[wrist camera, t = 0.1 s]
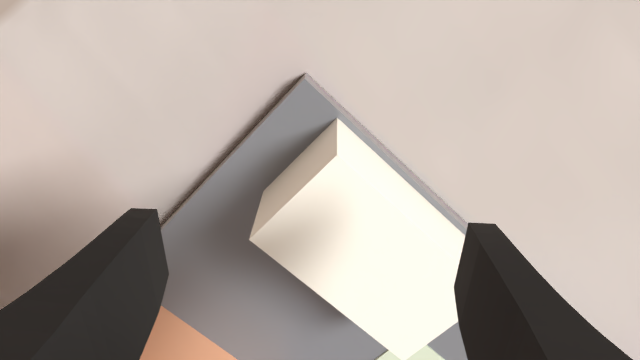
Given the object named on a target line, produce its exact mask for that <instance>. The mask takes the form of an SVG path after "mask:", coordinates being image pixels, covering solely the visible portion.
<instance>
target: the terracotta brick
mask: <svg viewBox="0 0 640 360" xmlns="http://www.w3.org/2000/svg"><path fill="white" fill-rule="evenodd" d="M140 360H238V359H236V358H235V357H233V356H232V355H230V354H229V353H228V352H226V351H225V350H223V349H222V348H221V347H219V346H218V345H216V344H215V343H214V342H212V341H211V340H209V339H208V338H206V337H205V336H204V335H202V334H201V333H199V332H198V331H197V330H195V329H194V328H192V327H191V326H189V325H188V324H187V323H185V322H184V321H182V320H181V319H180V318H178V317H177V316H175V315H174V314H172V313H171V312H170V311H168V310H167V309H165V308H164V307H163V306H161V307H160V310H159V313H158V316H157V318H156V321H155V323H154V326H153V328H152V331H151V333H150V336H149V338H148V340H147V343H146V345H145V348H144V350H143V352H142V355H141V357H140Z"/></svg>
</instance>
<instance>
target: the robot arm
mask: <svg viewBox="0 0 640 360" xmlns="http://www.w3.org/2000/svg"><path fill="white" fill-rule="evenodd" d="M168 276H169V271H168V266H167V260H166V255H165V250H164V244H163V239H162V234H161V228H160V223H159V218H158V212H157V209H135V208H131V209H130V210H128V211H127V212H126V213H125V214H123V215H122V216H121V217H120V218H119V219H117V220H116V221H115V222H114V223H113V224H112V225H110V226H109V227H108V228H107V229H106V230H105V231H103V232H102V233H101V234H100V235H99V236H97V237H96V238H95V239H94V240H93V241H92V242H90V243H89V244H88V245H87V246H85V247H84V248H83V249H82V250H81V251H79V252H78V253H77V254H76V255H75V256H73V257H72V258H71V259H70V260H68V261H67V262H66V263H65V264H63V265H62V266H61V267H60V268H58V269H57V270H56V271H54V272H53V273H52V274H50V275H49V276H48V277H46V278H45V279H44V280H42V281H41V282H40V283H38V284H37V285H36V286H34V287H33V288H32V289H30V290H29V291H28V292H26V293H25V294H23V295H22V296H21V297H19V298H18V299H16V300H15V301H13V302H12V303H10V304H9V305H7V306H6V307H4V308H3V309H1V310H0V360H140V357H141V355H142V352H143V350H144V348H145V345H146V343H147V340H148V338H149V336H150V333H151V331H152V328H153V326H154V323H155V321H156V318H157V316H158V313H159V310H160V307H161V303H162V300H163V296H164V292H165V288H166V284H167V280H168ZM454 294H455V302H456V309H457V316H458V323H459V329H460V332H461V336H462V340H463V344H464V348H465V351H466V355H467V359H468V360H633V359H631V358H630V357H629V356H628V355H626V354H625V353H624V352H623V351H621V350H620V349H619V348H618V347H617V346H615V345H614V344H613V343H612V342H611V341H609V340H608V339H607V338H606V337H604V336H603V335H602V334H601V333H600V332H599V331H598V330H596V329H595V328H594V327H593V326H592V325H591V324H590V323H589V322H587V321H586V320H585V319H584V318H583V317H582V316H581V315H580V314H579V313H578V312H577V311H576V310H575V309H574V308H573V307H572V306H571V305H569V304H568V303H567V302H566V301H565V300H564V299H563V298H562V297H561V296H560V295H559V294H558V293H557V292H556V291H555V290H554V289H553V287H552V286H551V285H550V284H549V283H548V282H547V281H546V280H545V279H544V278H543V277H542V276H541V275H540V274H539V273H538V272H537V271H536V269H535V268H534V267H533V266H532V265H531V264H530V263H529V262H528V261H527V259H526V258H525V257H524V256H523V255H522V254H521V253H520V252H519V250H518V249H517V248H516V247H515V246H514V245H513V244H512V242H511V241H510V240H509V239H508V238H507V237H506V236H505V234H504V233H503V232H502V231H501V230H500V229H499V228H498V227H497V225H496V224H485V223H468V227H467V231H466V235H465V240H464V244H463V248H462V253H461V257H460V261H459V266H458V270H457V275H456V279H455V283H454Z"/></svg>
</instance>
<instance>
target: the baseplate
mask: <svg viewBox="0 0 640 360" xmlns="http://www.w3.org/2000/svg"><path fill="white" fill-rule="evenodd" d="M336 118H338V119H339V120H341V121H342V122H343V123H344V124H345V125H346V126H347V127H348V128H349V129H350V130H351V131H352V132H354V133H355V134H356V135H357V136H358V137H359V138H360V139H361V140H362V141H363V142H364V143H365V144H366V145H368V146H369V147H370V148H371V149H372V150H373V151H374V152H375V153H376V154H377V155H378V156H379V157H381V158H382V159H383V160H384V161H385V162H386V163H387V164H388V165H389V166H390V167H391V168H392V169H394V170H395V171H396V172H397V173H398V174H399V175H400V176H401V177H402V178H403V179H404V180H405V181H407V182H408V183H409V184H410V185H411V186H412V187H413V188H414V189H415V190H416V191H417V192H418V193H420V194H421V195H422V196H423V197H424V198H425V199H426V200H427V201H428V202H429V203H430V204H431V205H433V206H434V207H435V208H436V209H437V210H438V211H439V212H440V213H441V214H442V215H443V216H444V217H445V218H447V219H448V220H449V221H450V222H451V223H452V224H453V225H454V226H455V227H456V228H457V229H458V230H460V231H461V232H462V233H463V234H464V235H466V231H467V227H468V224H467V223H466V222H465V221H464V220H463V219H462V218H461V217H460V216H459V215H458V214H457V213H456V212H455V211H453V210H452V209H451V208H450V207H449V206H448V205H447V204H446V203H445V202H444V201H443V200H442V199H441V198H440V197H438V196H437V195H436V194H435V193H434V192H433V191H432V190H431V189H430V188H429V187H428V186H427V185H426V184H425V183H423V182H422V181H421V180H420V179H419V178H418V177H417V176H416V175H415V174H414V173H413V172H412V171H411V170H410V169H409V168H407V167H406V166H405V165H404V164H403V163H402V162H401V161H400V160H399V159H398V158H397V157H396V156H395V155H394V154H392V153H391V152H390V151H389V150H388V149H387V148H386V147H385V146H384V145H383V144H382V143H381V142H380V141H379V140H378V139H376V138H375V137H374V136H373V135H372V134H371V133H370V132H369V131H368V130H367V129H366V128H365V127H364V126H363V125H361V124H360V123H359V122H358V121H357V120H356V119H355V118H354V117H353V116H352V115H351V114H350V113H349V112H348V111H346V110H345V109H344V108H343V107H342V106H341V105H340V104H339V103H338V102H337V101H336V100H335V99H334V98H333V97H332V96H330V95H329V94H328V93H327V92H326V91H325V90H324V89H323V88H322V87H321V86H320V85H319V84H318V83H317V82H315V81H314V80H313V79H312V78H311V77H310V76H309V75H308V74H307V73H305V74H304V75H303V76H302V77H301V78H300V79H299V81H298V82H297V83H296V84H295V85H294V86H293V87H292V88H291V89H290V90H289V91H288V92H287V93H286V94H285V95H284V96H283V98H282V99H281V100H280V101H279V102H278V103H277V104H276V105H275V106H274V107H273V108H272V109H271V110H270V111H269V112H268V113H267V115H266V116H265V117H264V118H263V119H262V120H261V121H260V122H259V123H258V124H257V125H256V126H255V127H254V128H253V129H252V130H251V132H250V133H249V134H248V135H247V136H246V137H245V138H244V139H243V140H242V141H241V142H240V143H239V144H238V145H237V146H236V147H235V149H234V150H233V151H232V152H231V153H230V154H229V155H228V156H227V157H226V158H225V159H224V160H223V161H222V162H221V163H220V164H219V166H218V167H217V168H216V169H215V170H214V171H213V172H212V173H211V174H210V175H209V176H208V177H207V178H206V179H205V180H204V181H203V183H202V184H201V185H200V186H199V187H198V188H197V189H196V190H195V191H194V192H193V193H192V194H191V195H190V196H189V197H188V198H187V200H186V201H185V202H184V203H183V204H182V205H181V206H180V207H179V208H178V209H177V210H176V211H175V212H174V213H173V214H172V215H171V217H170V218H169V219H168V220H167V221H166V222H165V223H164V224H163V225H162V226H161V227H160V228H161V234H162V239H163V244H164V250H165V255H166V260H167V266H168V271H169V276H168V280H167V284H166V288H165V292H164V296H163V300H162V303H161V306H163V307H164V308H165V309H167V310H168V311H170V312H171V313H172V314H174V315H175V316H177V317H178V318H180V319H181V320H182V321H184V322H185V323H187V324H188V325H189V326H191V327H192V328H194V329H195V330H197V331H198V332H199V333H201V334H202V335H204V336H205V337H206V338H208V339H209V340H211V341H212V342H214V343H215V344H216V345H218V346H219V347H221V348H222V349H223V350H225V351H226V352H228V353H229V354H230V355H232V356H233V357H235V358H236V359H238V360H401V359H399V358H398V357H397V356H396V355H394V354H393V353H392V352H391V351H389V350H388V349H387V348H385V347H384V346H383V345H382V344H380V343H379V342H378V341H377V340H375V339H374V338H373V337H372V336H370V335H369V334H368V333H367V332H365V331H364V330H363V329H361V328H360V327H359V326H358V325H356V324H355V323H354V322H353V321H351V320H350V319H349V318H348V317H346V316H345V315H344V314H342V313H341V312H340V311H339V310H337V309H336V308H335V307H334V306H332V305H331V304H330V303H329V302H327V301H326V300H325V299H323V298H322V297H321V296H320V295H318V294H317V293H316V292H315V291H313V290H312V289H311V288H310V287H308V286H307V285H306V284H305V283H303V282H302V281H301V280H299V279H298V278H297V277H296V276H294V275H293V274H292V273H291V272H289V271H288V270H287V269H286V268H284V267H283V266H282V265H280V264H279V263H278V262H277V261H275V260H274V259H273V258H272V257H270V256H269V255H268V254H267V253H265V252H264V251H263V250H262V249H260V248H259V247H258V246H256V245H255V244H254V243H253V242H251V241H250V240H249V238H250V235H251V231H252V228H253V225H254V221H255V218H256V214H257V211H258V208H259V204H260V201H261V198H262V194H263V191H264V190H265V189H266V188H267V187H268V186H269V185H270V184H271V183H272V182H273V181H274V180H275V179H276V178H277V177H278V176H279V175H280V174H281V173H282V172H283V171H284V170H285V169H286V168H287V167H288V166H289V165H290V164H291V163H292V162H293V161H294V160H295V159H296V158H297V157H298V156H299V155H300V154H301V153H302V152H303V151H304V150H305V149H306V148H307V147H308V146H309V145H310V144H311V143H312V142H313V141H314V140H315V139H316V138H317V137H318V136H319V135H320V134H321V133H322V132H323V131H324V130H325V129H326V128H327V127H328V126H329V125H330V124H331V123H332V122H333V121H334V120H335V119H336ZM406 360H468V359H467V355H466V351H465V348H464V344H463V340H462V336H461V332H460V329H459V323H458V322H457V323H455V324H454V325H452V326H451V327H450V328H448V329H447V330H446V331H444V332H443V333H442V334H440V335H439V336H438V337H436V338H435V339H433V340H432V341H431V342H429V343H428V344H427V345H425V346H424V347H423V348H421V349H420V350H419V351H417V352H416V353H414V354H413V355H412V356H410V357H409V358H408V359H406Z"/></svg>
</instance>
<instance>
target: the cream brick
mask: <svg viewBox="0 0 640 360" xmlns="http://www.w3.org/2000/svg"><path fill="white" fill-rule="evenodd" d="M249 240H250V241H251V242H253V243H254V244H255V245H256V246H258V247H259V248H260V249H262V250H263V251H264V252H265V253H267V254H268V255H269V256H270V257H272V258H273V259H274V260H275V261H277V262H278V263H279V264H280V265H282V266H283V267H284V268H286V269H287V270H288V271H289V272H291V273H292V274H293V275H294V276H296V277H297V278H298V279H299V280H301V281H302V282H303V283H305V284H306V285H307V286H308V287H310V288H311V289H312V290H313V291H315V292H316V293H317V294H318V295H320V296H321V297H322V298H323V299H325V300H326V301H327V302H329V303H330V304H331V305H332V306H334V307H335V308H336V309H337V310H339V311H340V312H341V313H342V314H344V315H345V316H346V317H348V318H349V319H350V320H351V321H353V322H354V323H355V324H356V325H358V326H359V327H360V328H361V329H363V330H364V331H365V332H367V333H368V334H369V335H370V336H372V337H373V338H374V339H375V340H377V341H378V342H379V343H380V344H382V345H383V346H384V347H385V348H387V349H388V350H389V351H391V352H392V353H393V354H394V355H396V356H397V357H398V358H399V359H401V360H406V359H408V358H409V357H410V356H412V355H413V354H414V353H416V352H417V351H419V350H420V349H421V348H423V347H424V346H425V345H427V344H428V343H429V342H431V341H432V340H433V339H435V338H436V337H438V336H439V335H440V334H442V333H443V332H444V331H446V330H447V329H448V328H450V327H451V326H452V325H454V324H455V323H457V322H458V316H457V309H456V302H455V294H454V283H455V279H456V275H457V270H458V266H459V261H460V257H461V253H462V248H463V244H464V240H465V235H464V234H463V233H462V232H461V231H460V230H458V229H457V228H456V227H455V226H454V225H453V224H452V223H451V222H450V221H449V220H448V219H447V218H445V217H444V216H443V215H442V214H441V213H440V212H439V211H438V210H437V209H436V208H435V207H434V206H433V205H431V204H430V203H429V202H428V201H427V200H426V199H425V198H424V197H423V196H422V195H421V194H420V193H418V192H417V191H416V190H415V189H414V188H413V187H412V186H411V185H410V184H409V183H408V182H407V181H405V180H404V179H403V178H402V177H401V176H400V175H399V174H398V173H397V172H396V171H395V170H394V169H392V168H391V167H390V166H389V165H388V164H387V163H386V162H385V161H384V160H383V159H382V158H381V157H379V156H378V155H377V154H376V153H375V152H374V151H373V150H372V149H371V148H370V147H369V146H368V145H366V144H365V143H364V142H363V141H362V140H361V139H360V138H359V137H358V136H357V135H356V134H355V133H354V132H352V131H351V130H350V129H349V128H348V127H347V126H346V125H345V124H344V123H343V122H342V121H341V120H339V119H338V118H336V119H335V120H334V121H333V122H332V123H331V124H330V125H329V126H328V127H327V128H326V129H325V130H324V131H323V132H322V133H321V134H320V135H319V136H318V137H317V138H316V139H315V140H314V141H313V142H312V143H311V144H310V145H309V146H308V147H307V148H306V149H305V150H304V151H303V152H302V153H301V154H300V155H299V156H298V157H297V158H296V159H295V160H294V161H293V162H292V163H291V164H290V165H289V166H288V167H287V168H286V169H285V170H284V171H283V172H282V173H281V174H280V175H279V176H278V177H277V178H276V179H275V180H274V181H273V182H272V183H271V184H270V185H269V186H268V187H267V188H266V189H265V190H264V191H263V194H262V198H261V201H260V204H259V208H258V211H257V214H256V218H255V221H254V225H253V228H252V231H251V235H250V238H249Z"/></svg>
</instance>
